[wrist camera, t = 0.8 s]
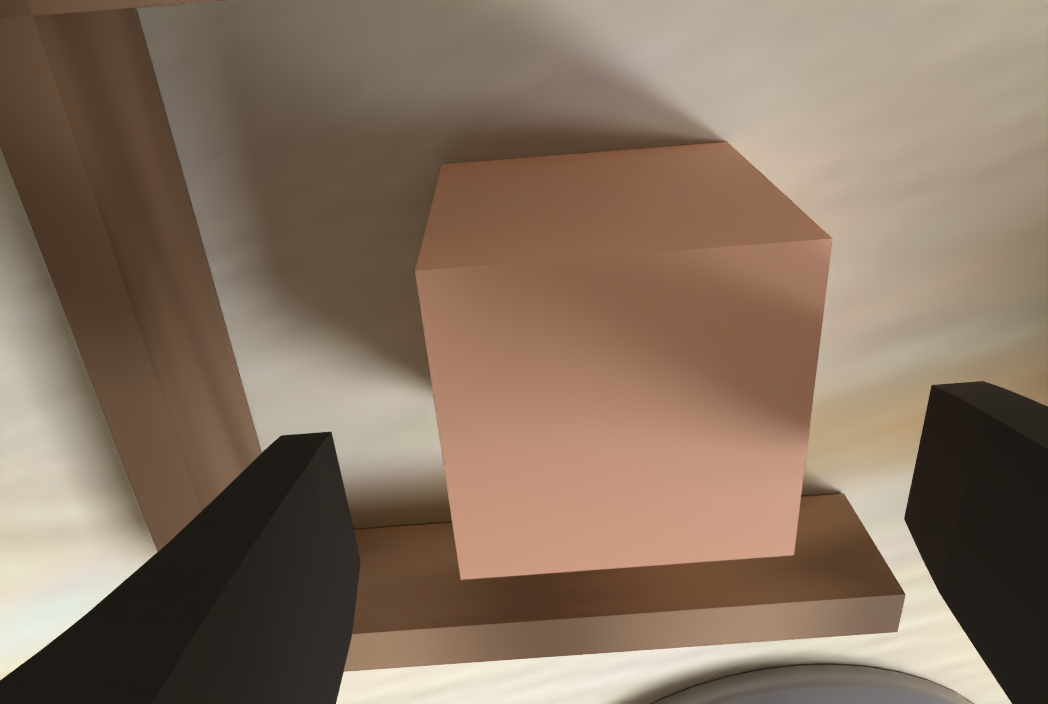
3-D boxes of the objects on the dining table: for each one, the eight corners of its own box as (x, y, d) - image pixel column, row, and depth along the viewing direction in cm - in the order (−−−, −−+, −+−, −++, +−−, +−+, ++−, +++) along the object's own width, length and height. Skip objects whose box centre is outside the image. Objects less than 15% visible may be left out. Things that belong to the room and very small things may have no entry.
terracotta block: (725, 140, 14) (832, 238, 9) (712, 385, 16) (793, 555, 12) (441, 163, 14) (413, 271, 9) (471, 403, 16) (460, 579, 12)
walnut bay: (942, -143, 12) (1071, -165, 9) (838, 528, 18) (896, 631, 15) (47, -70, 12) (-83, -70, 9) (250, 571, 18) (208, 681, 15)
